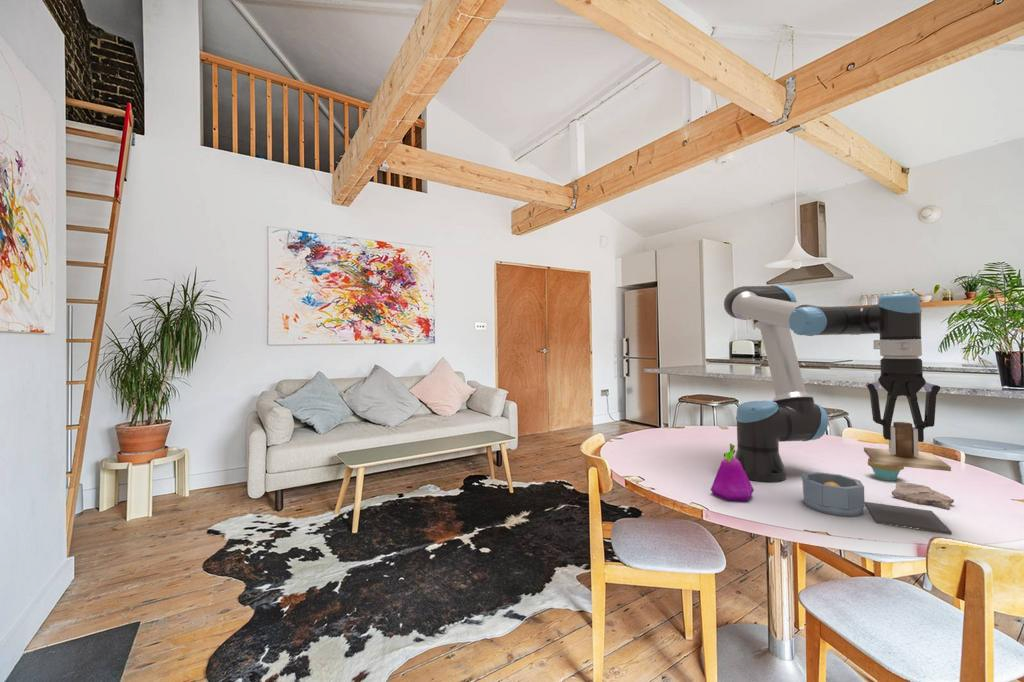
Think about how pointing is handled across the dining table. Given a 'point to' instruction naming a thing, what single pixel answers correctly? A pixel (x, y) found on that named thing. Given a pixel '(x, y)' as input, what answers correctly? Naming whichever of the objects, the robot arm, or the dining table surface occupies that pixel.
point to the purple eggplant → (732, 479)
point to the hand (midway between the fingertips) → (903, 453)
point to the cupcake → (885, 470)
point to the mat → (906, 517)
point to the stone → (921, 495)
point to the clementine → (831, 483)
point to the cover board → (906, 462)
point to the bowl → (833, 494)
